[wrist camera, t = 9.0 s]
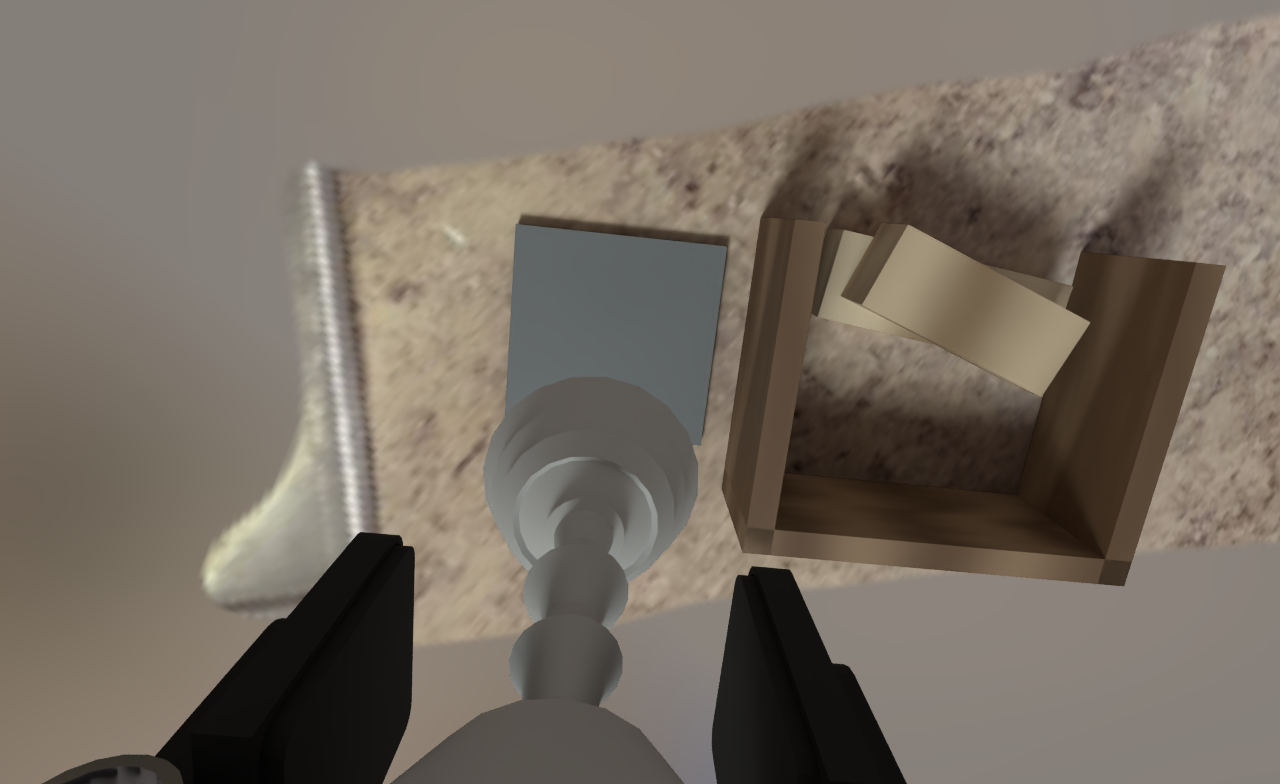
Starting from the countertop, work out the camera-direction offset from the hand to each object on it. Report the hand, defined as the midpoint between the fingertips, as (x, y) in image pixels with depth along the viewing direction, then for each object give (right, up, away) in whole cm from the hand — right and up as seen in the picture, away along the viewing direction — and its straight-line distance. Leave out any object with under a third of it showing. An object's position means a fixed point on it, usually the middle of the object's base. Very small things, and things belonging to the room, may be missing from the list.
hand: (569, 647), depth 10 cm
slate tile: (0, +6, +24) cm, 25 cm away
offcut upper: (+15, +8, +21) cm, 27 cm away
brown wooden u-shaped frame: (+15, +5, +25) cm, 29 cm away
